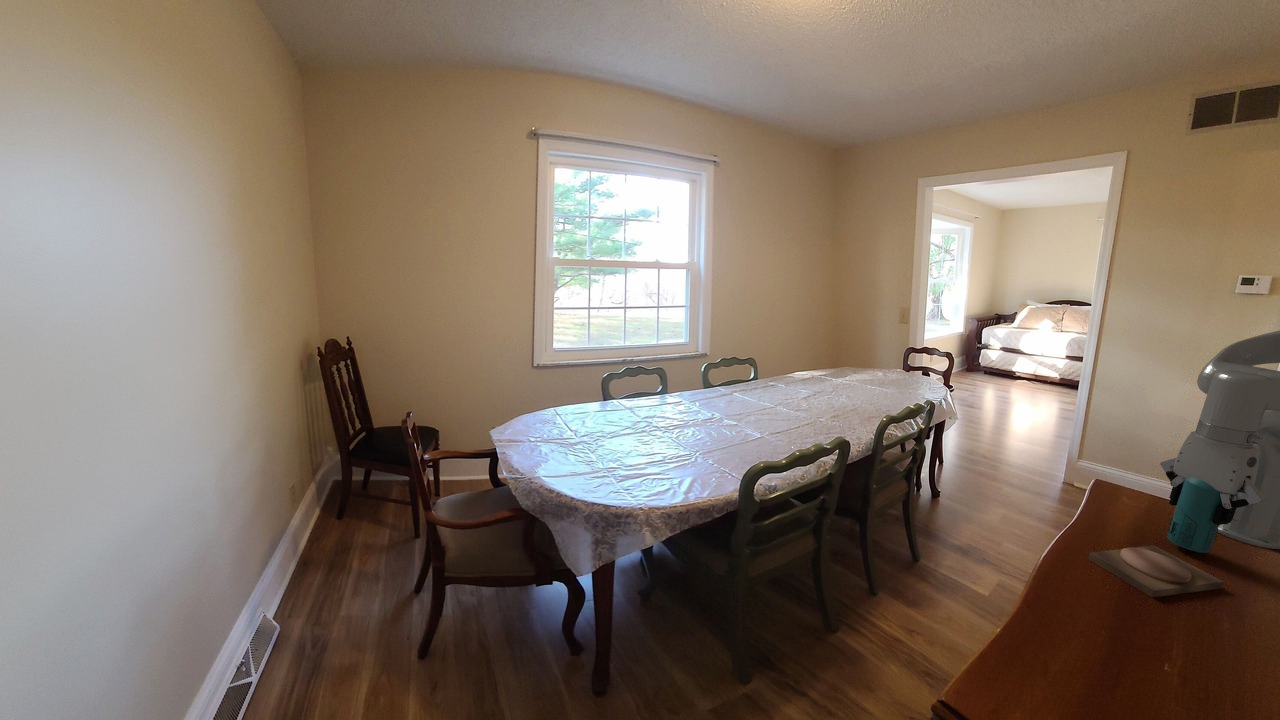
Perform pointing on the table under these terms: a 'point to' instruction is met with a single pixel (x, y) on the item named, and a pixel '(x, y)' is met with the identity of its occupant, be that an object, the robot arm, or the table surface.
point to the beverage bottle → (1195, 516)
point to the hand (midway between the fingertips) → (1197, 513)
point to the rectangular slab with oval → (1155, 571)
